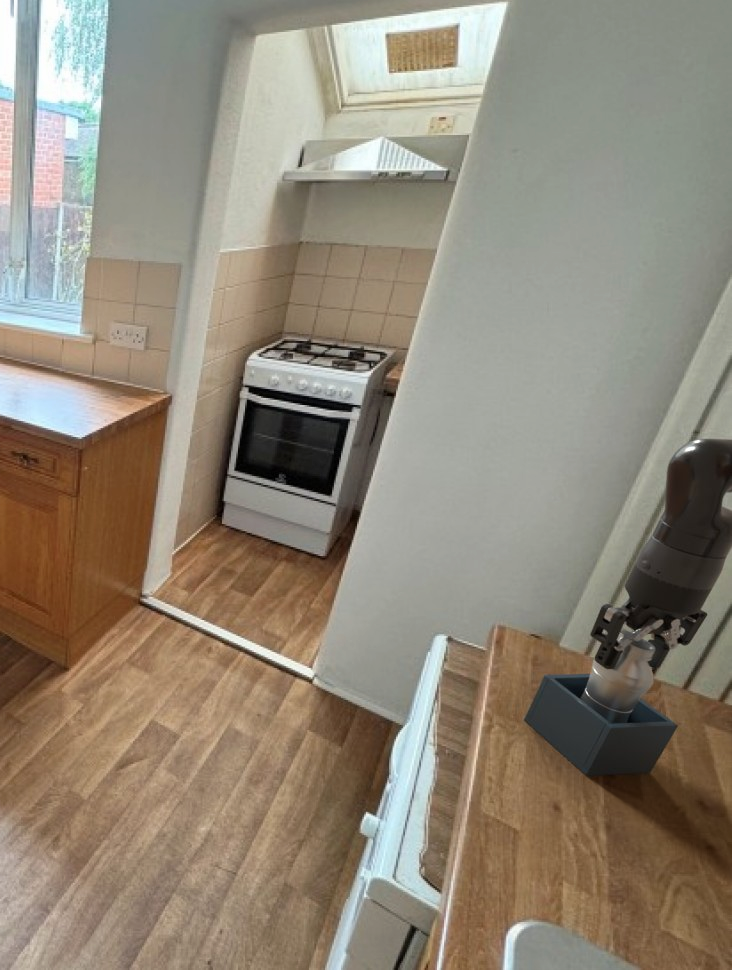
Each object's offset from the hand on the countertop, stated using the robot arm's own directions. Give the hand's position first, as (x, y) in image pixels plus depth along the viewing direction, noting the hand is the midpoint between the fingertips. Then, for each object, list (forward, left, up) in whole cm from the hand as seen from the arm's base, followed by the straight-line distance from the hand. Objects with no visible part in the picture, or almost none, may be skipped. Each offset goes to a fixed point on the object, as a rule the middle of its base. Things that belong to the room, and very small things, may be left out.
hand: (626, 664), depth 90 cm
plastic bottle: (0, 0, -16) cm, 16 cm away
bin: (0, 0, -17) cm, 17 cm away
